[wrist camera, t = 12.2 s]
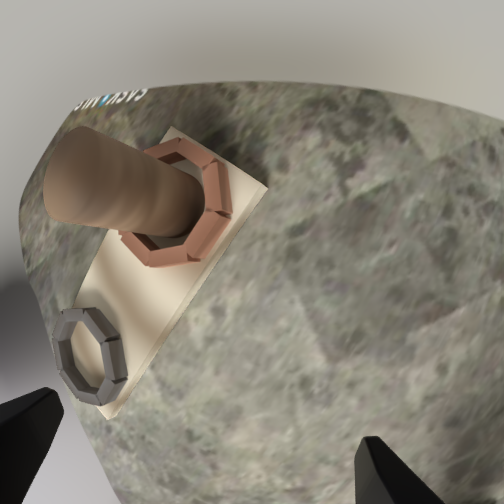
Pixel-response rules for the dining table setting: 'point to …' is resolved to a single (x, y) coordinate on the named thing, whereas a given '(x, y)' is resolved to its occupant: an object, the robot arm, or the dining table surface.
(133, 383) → the socket rail
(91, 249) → the dining table surface
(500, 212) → the dining table surface
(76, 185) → the walnut peg
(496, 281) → the dining table surface
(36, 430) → the robot arm
